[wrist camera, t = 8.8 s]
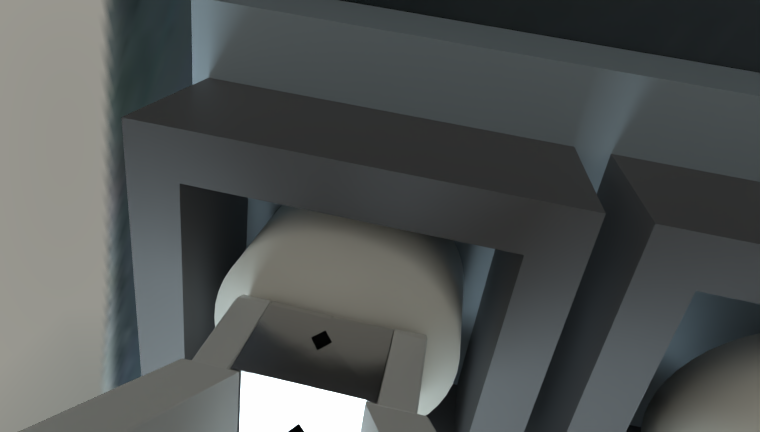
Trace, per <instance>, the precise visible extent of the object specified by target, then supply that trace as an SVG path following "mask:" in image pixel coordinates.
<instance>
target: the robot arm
mask: <svg viewBox="0 0 760 432" xmlns="http://www.w3.org/2000/svg"><path fill="white" fill-rule="evenodd" d="M393 333H394V335H393ZM427 340H428V339H427V336H426V335H425V334H420V333H415V332H410V331H404V330H399V329H395V331H394V329H390V328H385V327H380V326H376V325H371V324H367V323H362V322H358V321H353V320H348V319H344V318H339V317H335V316H332V315H328V314H324V313H320V312H316V311H312V310H308V309H304V308H300V307H296V306H292V305H287V304H283V303H279V302H275V301H273V302H272V301H270V300H266V299H262V298H257V297H253V296H249V295H245V294H243V295H241V296H239V297H237V298H236V299H235V301H234V302H233V303H232V305H231V306H230V307H229V309H228V310H227V312H226V313H225V314H224V316H223V317H222V319H221V320H220V321H219V323H218V324H217V326H216V327H215V328H214V330H213V331H212V333H211V334H210V335H209V337H208V338H207V340H206V341H205V342H204V344H203V345H202V346H201V348H200V349H199V351H198V352H197V353H196V355H195V356H194V358H193V359H192V360H187V359H183V358H182V359H179V360H177V361H175V362H173V363H170V364H168V365H166V366H164V367H162V368H159V369H157V370H155V371H153V372H150V373H148V374H146V375H144V376H141V377H139V378H137V379H135V380H133V381H130V382H128V383H126V384H124V385H121V386H119V387H117V388H115V389H113V390H110V391H108V392H106V393H104V394H101V395H99V396H97V397H95V398H93V399H90V400H88V401H86V402H84V403H81V404H79V405H77V406H75V407H72V408H70V409H68V410H66V411H64V412H61V413H59V414H57V415H55V416H52V417H50V418H48V419H46V420H44V421H41V422H39V423H37V424H35V425H32V426H30V427H28V428H26V429H24V430H21V431H19V432H436V430H435V428H434V427H433V425H432V423H431V422H430V420H429V418H428V417H427V416H424V415H420V414H417V412H418V405H419V398H420V391H421V384H422V376H423V369H424V362H425V355H426V348H427Z"/></svg>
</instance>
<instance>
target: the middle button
mask: <svg viewBox="0 0 760 432" xmlns="http://www.w3.org/2000/svg"><path fill="white" fill-rule="evenodd" d="M641 432H760V333H759V334H754V335H750V336H746V337H743V338H739V339H736V340H733V341H730V342H727V343H725V344H722V345H720V346H718V347H715V348H713V349H711V350H708V351H707V352H705V353H703V354H701V355H700V356H698V357H696V358H694V359H692V360H691V361H690V362H688V363H687V364H685V365H684V366H682V367H681V368H680V369H678V370H677V371H676V372H675V373H674V374H673V375H672V376H670V377H669V378H668V379H667V380H666V381H665V382H664V383H663V385H662V386H661V387H660V388H659V389H658V391H657V392H656V393H655V395H654V396H653V398H652V400H651V401H650V403H649V405H648V407H647V409H646V412H645V414H644V417H643V422H642V426H641Z"/></svg>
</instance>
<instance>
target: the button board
mask: <svg viewBox="0 0 760 432" xmlns="http://www.w3.org/2000/svg"><path fill="white" fill-rule="evenodd" d="M191 11H192V75H193V85H191V86H189V87H187V88H185V89H183V90H180V91H178V92H176V93H174V94H172V95H169V96H167V97H165V98H163V99H161V100H158V101H156V102H154V103H152V104H150V105H147V106H145V107H143V108H141V109H139V110H137V111H134V112H132V113H130V114H128V115H126V116H123V117H121V118H122V131H123V144H124V156H125V169H126V182H127V195H128V208H129V220H130V233H131V246H132V259H133V272H134V284H135V297H136V310H137V323H138V336H139V348H140V361H141V374H142V376H144V375H146V374H148V373H150V372H153V371H155V370H157V369H159V368H162V367H164V366H166V365H168V364H170V363H173V362H175V361H177V360H179V359H182V358H183V359H187V360H192V359H193V358H194V356H195V355H196V353H197V352H198V351H199V349H200V348H201V346H202V345H203V344H204V342H205V341H206V340H207V338H208V337H209V335H210V334H211V333H212V331H213V330H214V328H215V319H214V313H215V303H216V299H217V295H218V291H219V289H220V286H221V284H222V282H223V280H224V278H225V277H226V275H227V274H228V272H229V271H230V269H231V268H232V266H233V265H234V264H235V263H236V261H237V260H238V259H239V258H240V256H241V255H242V254H243V253H244V251H245V250H246V249H247V248H248V246H249V245H250V244H251V243H252V241H253V240H254V239H255V238H256V236H257V235H258V234H259V233H260V231H261V230H262V229H263V227H264V226H265V225H266V224H267V222H268V221H269V220H270V219H271V217H272V216H273V215H274V214H275V213H276V211H277V210H278V209H279V208H280V207H281V206H282V205H286V206H290V207H295V208H300V209H305V210H310V211H314V212H319V213H324V214H329V215H334V216H338V217H343V218H348V219H353V220H358V221H362V222H367V223H372V224H377V225H382V226H386V227H391V228H396V229H401V230H406V231H410V232H415V233H420V234H425V235H430V236H435V237H439V238H444V239H449V240H454V243H455V245H456V247H457V249H458V251H459V255H460V258H461V261H462V266H463V273H464V291H463V308H462V326H461V344H460V360H459V365H458V371H457V374H456V377H455V379H454V382H453V385H452V386H451V388H450V390H449V391H448V393H447V395H446V396H445V397H444V399H443V400H442V401H441V402H440V404H439V405H438V406H437V407H436V408H434V409H433V410H432V411H431V412H430V413H429V414H427V415H426V416H427V417H428V418H429V420H430V422H431V423H432V425H433V427H434V428H435V430H436V432H641V426H642V422H643V417H644V414H645V412H646V409H647V407H648V405H649V403H650V401H651V400H652V398H653V396H654V395H655V393H656V392H657V391H658V389H659V388H660V387H661V386H662V385H663V383H664V382H665V381H666V380H667V379H668V378H669V377H670V376H672V375H673V374H674V373H675V372H676V371H677V370H678V369H680V368H681V367H682V366H684V365H685V364H687V363H688V362H690V361H691V360H692V359H694V358H696V357H698V356H700V355H701V354H703V353H705V352H707V351H708V350H711V349H713V348H715V347H718V346H720V345H722V344H725V343H727V342H730V341H733V340H736V339H739V338H743V337H746V336H750V335H754V334H759V333H760V73H758V72H752V71H746V70H741V69H735V68H729V67H723V66H717V65H712V64H706V63H700V62H694V61H688V60H683V59H677V58H671V57H665V56H659V55H654V54H648V53H642V52H636V51H630V50H625V49H619V48H613V47H607V46H601V45H596V44H590V43H584V42H578V41H572V40H567V39H561V38H555V37H549V36H543V35H538V34H532V33H526V32H520V31H514V30H509V29H503V28H497V27H491V26H485V25H480V24H474V23H468V22H462V21H456V20H451V19H445V18H439V17H433V16H427V15H422V14H416V13H410V12H404V11H398V10H393V9H387V8H381V7H375V6H369V5H364V4H358V3H352V2H346V1H340V0H191Z"/></svg>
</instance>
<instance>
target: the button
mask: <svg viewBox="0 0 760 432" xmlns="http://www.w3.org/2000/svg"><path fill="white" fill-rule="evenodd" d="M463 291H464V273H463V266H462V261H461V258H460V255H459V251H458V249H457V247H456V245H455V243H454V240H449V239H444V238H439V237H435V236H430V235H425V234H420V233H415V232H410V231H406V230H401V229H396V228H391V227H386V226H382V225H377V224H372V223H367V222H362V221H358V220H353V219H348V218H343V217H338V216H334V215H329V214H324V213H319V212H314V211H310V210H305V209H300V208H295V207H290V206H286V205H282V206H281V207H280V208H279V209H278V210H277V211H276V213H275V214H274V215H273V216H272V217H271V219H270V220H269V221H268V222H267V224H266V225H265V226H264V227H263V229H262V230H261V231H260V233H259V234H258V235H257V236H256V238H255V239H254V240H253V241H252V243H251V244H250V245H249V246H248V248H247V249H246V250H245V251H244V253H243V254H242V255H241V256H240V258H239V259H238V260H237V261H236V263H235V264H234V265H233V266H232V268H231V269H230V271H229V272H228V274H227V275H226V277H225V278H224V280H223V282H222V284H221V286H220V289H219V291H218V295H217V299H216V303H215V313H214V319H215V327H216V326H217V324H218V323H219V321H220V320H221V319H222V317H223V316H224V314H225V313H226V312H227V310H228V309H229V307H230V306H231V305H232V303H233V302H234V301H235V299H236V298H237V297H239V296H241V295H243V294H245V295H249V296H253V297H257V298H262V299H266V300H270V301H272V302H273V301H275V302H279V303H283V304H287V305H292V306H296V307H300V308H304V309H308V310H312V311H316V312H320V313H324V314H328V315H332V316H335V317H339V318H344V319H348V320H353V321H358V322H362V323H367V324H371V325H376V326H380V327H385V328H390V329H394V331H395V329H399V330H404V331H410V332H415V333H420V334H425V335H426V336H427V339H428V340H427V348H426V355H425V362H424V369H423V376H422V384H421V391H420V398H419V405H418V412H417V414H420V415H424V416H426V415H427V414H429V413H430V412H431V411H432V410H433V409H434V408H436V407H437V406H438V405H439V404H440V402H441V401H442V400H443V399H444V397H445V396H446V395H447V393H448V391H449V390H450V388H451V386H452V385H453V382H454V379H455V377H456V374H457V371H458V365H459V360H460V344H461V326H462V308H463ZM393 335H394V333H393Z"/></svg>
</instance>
